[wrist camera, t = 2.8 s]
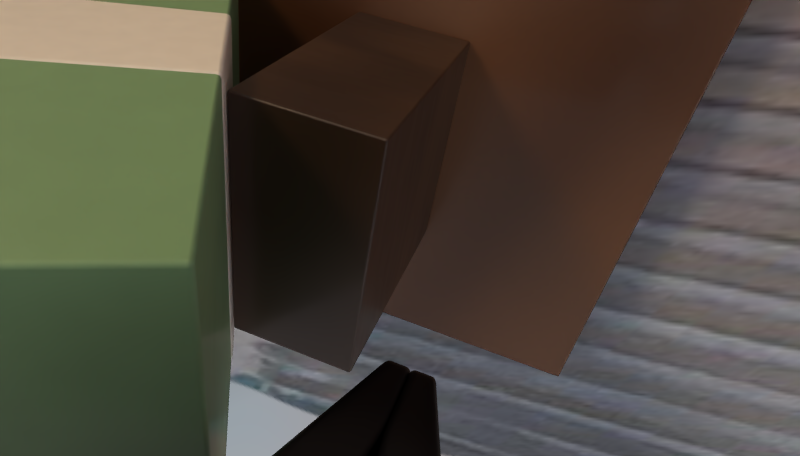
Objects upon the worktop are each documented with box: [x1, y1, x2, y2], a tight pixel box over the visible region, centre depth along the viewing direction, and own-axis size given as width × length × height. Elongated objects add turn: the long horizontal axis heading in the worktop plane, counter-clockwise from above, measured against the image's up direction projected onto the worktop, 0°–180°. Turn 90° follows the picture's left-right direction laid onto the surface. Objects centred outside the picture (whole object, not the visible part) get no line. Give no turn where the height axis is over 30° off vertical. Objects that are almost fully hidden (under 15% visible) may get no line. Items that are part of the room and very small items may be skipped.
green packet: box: [0, 0, 240, 456], centre depth 12 cm, size 9×7×12 cm
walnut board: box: [227, 0, 752, 376], centre depth 14 cm, size 22×14×7 cm, turn 79°
